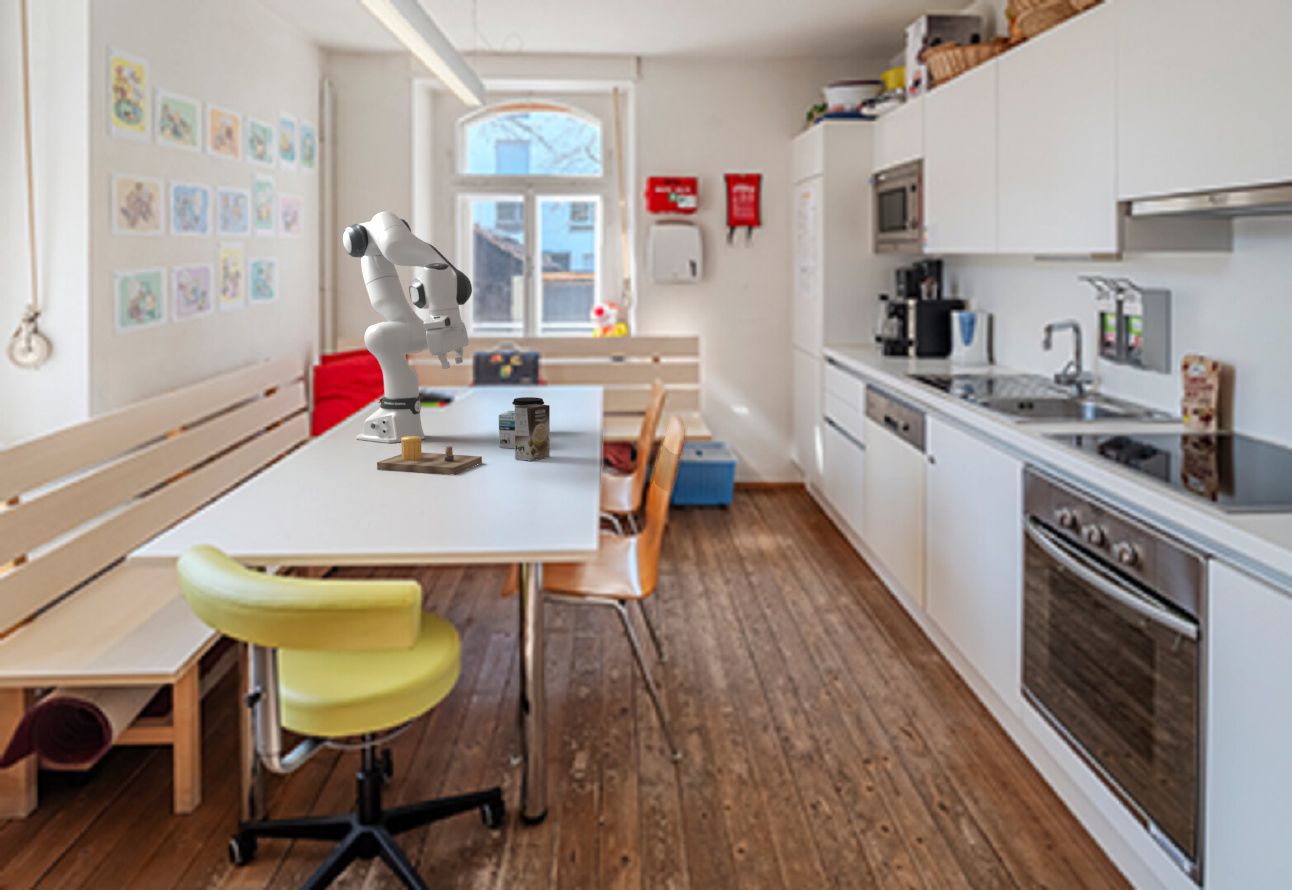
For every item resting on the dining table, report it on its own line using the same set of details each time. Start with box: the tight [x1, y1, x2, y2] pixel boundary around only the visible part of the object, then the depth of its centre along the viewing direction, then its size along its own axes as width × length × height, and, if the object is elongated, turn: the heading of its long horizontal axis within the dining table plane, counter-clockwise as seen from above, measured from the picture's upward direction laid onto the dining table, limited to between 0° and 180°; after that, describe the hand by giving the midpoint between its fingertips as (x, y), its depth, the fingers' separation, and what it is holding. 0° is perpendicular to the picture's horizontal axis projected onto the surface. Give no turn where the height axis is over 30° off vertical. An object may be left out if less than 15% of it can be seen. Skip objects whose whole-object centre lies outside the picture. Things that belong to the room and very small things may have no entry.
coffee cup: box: [512, 396, 545, 407], centre depth 353 cm, size 11×11×12 cm
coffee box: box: [514, 404, 551, 462], centre depth 308 cm, size 9×6×16 cm
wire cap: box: [401, 436, 423, 460], centre depth 297 cm, size 6×6×6 cm
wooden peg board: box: [376, 445, 483, 475], centre depth 295 cm, size 24×18×6 cm
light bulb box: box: [498, 410, 515, 449], centre depth 329 cm, size 11×7×11 cm, turn 168°
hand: (453, 365), depth 303 cm, fingers open, 8 cm apart
